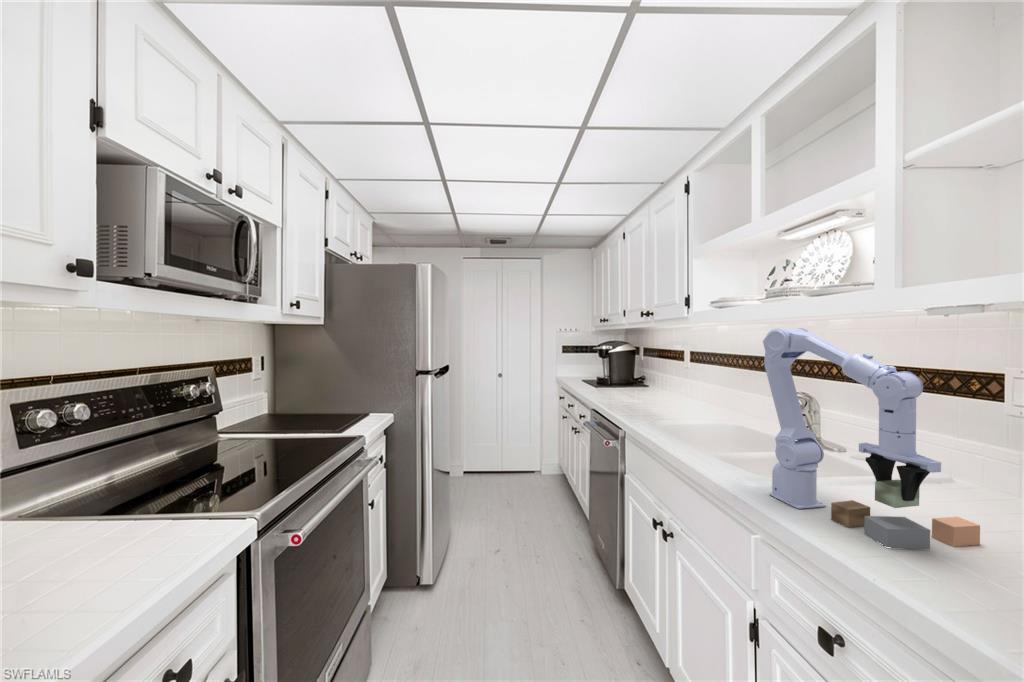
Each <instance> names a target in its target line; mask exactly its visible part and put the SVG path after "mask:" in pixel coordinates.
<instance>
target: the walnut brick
mask: <svg viewBox="0 0 1024 682" xmlns="http://www.w3.org/2000/svg"><path fill="white" fill-rule="evenodd" d="M830 504H831V505H830V506H831V507H830V509H831V510H830V516H831V517H830V520H831V521H832V520H833V521H832V522H835V523H837V524H839V523H840V525H841V524H842V525H841V526H843V525H844V527H845V528H849V527H851V528H857V527H858V528H859V527H865V516H871V506H869V505H866V504H863V503H861V502H858V501H856V500H853V499H852V500H850V499H849V500H842V501H841V500H840V501H835V502H834V501H833V502H831V503H830Z"/></svg>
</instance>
